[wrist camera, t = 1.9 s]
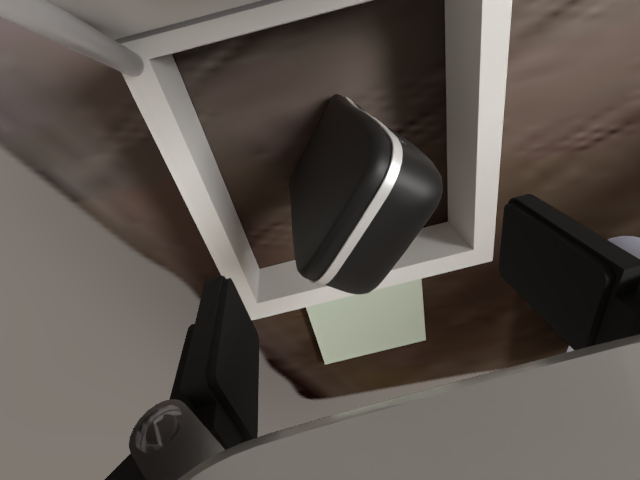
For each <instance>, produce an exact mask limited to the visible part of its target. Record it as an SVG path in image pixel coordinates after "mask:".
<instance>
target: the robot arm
mask: <svg viewBox="0 0 640 480" xmlns="http://www.w3.org/2000/svg"><path fill="white" fill-rule="evenodd" d="M499 271H500V274H501V276H502V277H503V278H504V279H505V280H506V281H507V282H508V283H509V284H510V285H511V286H512V287H513V288H514V289H515V290H516V292H517V293H518V294H519V295H520V296H521V297H522V298H523V299H524V300H525V301H526V302H527V303H528V304H529V305H530V306H531V307H532V308H533V309H534V310H535V311H536V312H537V313H538V314H539V315H540V316H541V317H542V318H543V319H544V320H545V321H546V322H547V323H548V324H549V325H550V326H551V327H552V328H553V329H554V330H555V331H556V332H557V333H558V334H559V335H560V336H561V337H562V339H563V340H564V341H565V342H566V343H567V344H568V345H569V346H570V347H571V348H572V349H573V350H574V351H571V352H567V353H563V354H559V355H555V356H551V357H548V358H544V359H540V360H536V361H532V362H529V363H525V364H521V365H517V366H513V367H509V368H506V369H502V370H498V371H494V372H491V373H487V374H483V375H479V376H476V377H472V378H468V379H464V380H461V381H457V382H453V383H450V384H446V385H442V386H438V387H435V388H431V389H427V390H424V391H420V392H416V393H412V394H408V395H405V396H401V397H397V398H394V399H390V400H387V401H383V402H379V403H376V404H372V405H368V406H365V407H361V408H357V409H354V410H350V411H346V412H343V413H339V414H336V415H332V416H328V417H325V418H321V419H317V420H314V421H310V422H307V423H304V424H300V425H297V426H294V427H290V428H287V429H283V430H280V431H276V432H273V433H270V434H266V435H264V436H261V437H258V438H257V432H258V377H259V376H258V375H259V338H258V334H257V331H256V329H255V327H254V325H253V323H252V321H251V318H250V316H249V314H248V312H247V310H246V308H245V306H244V304H243V302H242V299H241V297H240V295H239V293H238V291H237V289H236V287H235V285H234V283H233V281H232V279H231V278H228V279H226V278H225V277H224V276H219V277H215V278H212V279H208V280H206V281H205V284H204V288H203V293H202V297H201V301H200V305H199V309H198V313H197V318H196V322H195V324H192V325H191V326H190V327H189V328H188V331H187V335H186V339H185V342H184V346H183V350H182V354H181V358H180V362H179V366H178V370H177V373H176V378H175V381H174V385H173V389H172V393H171V396H170V400H166V401H163V402H161V403H159V404H156V405H155V406H154V407H152V408H151V409H149V410H148V411H147V412H146V413H145V414H144V415H143V416H142V417H141V418H140V419H139V421H138V422H137V424H136V425H135V427H134V428H133V431H132V433H131V436H130V441H129V448H130V452H131V454H130V455H129V456H128V457H127V458H126V459H125V460H124V461H123V462H122V463H121V464H120V465H119V466H118V467H117V468H116V469H115V470H114V471H113V472H112V473H111V474H110V475H109V476H108V477H107V478H106V479H105V480H640V259H638V258H637V257H635V256H633V255H632V254H630V253H628V252H627V251H625V250H623V249H622V248H620V247H618V246H617V245H615V244H613V243H612V242H610V241H608V240H607V239H605V238H603V237H602V236H600V235H598V234H597V233H595V232H594V231H592V230H590V229H589V228H587V227H585V226H584V225H582V224H580V223H579V222H577V221H575V220H574V219H572V218H570V217H569V216H567V215H565V214H564V213H562V212H560V211H559V210H557V209H555V208H554V207H552V206H550V205H549V204H547V203H545V202H544V201H542V200H540V199H539V198H537V197H535V196H534V195H531V194H526V195H523V196H519V197H515V198H512V199H510V200H509V202H508V204H507V205H505V207H504V215H503V227H502V238H501V249H500V260H499Z"/></svg>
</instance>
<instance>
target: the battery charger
mask: <svg viewBox="0 0 640 480" xmlns="http://www.w3.org/2000/svg"><path fill="white" fill-rule="evenodd" d="M289 186H290V194H291V213H292V232H293V244H294V253H295V261H296V267H297V271H298V272H299V273H300V274H301V275H302V277H304V278H306V279H308V280H309V281H310V282H311V283H314V284H317V285H320V286H323V285H326V286H329V287H332V288H335V289H338V290H341V291H344V292H347V293H351V294H356V295H359V294H367V293H369V292H371V291H372V290H374V289H375V288H376V287H378V286H379V284H380V283H381V282H382V281H383V280H384V279H385V277H386V276H387V275H388V273H389V272H390V271H391V270H392V268H393V267H394V266H395V264H396V263H397V262H398V261H399V259H400V258H401V257H402V255H403V254H404V253H405V251H406V250H407V249H408V247H409V246H410V245H411V243H412V242H413V241H414V239H415V238H416V236H417V235H418V234H419V232H420V231H421V230H422V228H423V227H424V225H425V224H426V223H427V221H428V220H429V218H430V217H431V216H432V214H433V213H434V211H435V209H436V208H437V206H438V204H439V202H440V199H441V196H442V191H443V184H442V177H441V175H440V173H439V172H438V170H437V168H436V167H435V165H434V164H433V162H432V161H431V160H430V159H429V158H428V157H427V156H426V155H425V154H424V153H423V152H422V151H420V150H419V149H418V148H417V147H416V146H415V145H413V144H412V143H411V142H409V141H408V140H407V139H405V138H404V137H403V136H401V135H400V134H398V133H397V132H395V131H393V130H391V129H389V128H388V127H386V126H385V125H384V124H383V123H381V122H380V121H379V120H377V119H376V118H374V117H373V116H371V115H370V114H368V113H366V112H365V111H364V110H363V109H362V108H361V107H360V106H358V105H356V104H355V103H353V102H352V101H351V99H349V98H347V97H346V96H344V97H342V96H341V95H338V94H336V95H334V96H332V98H331V100H330V102H329V104H328V106H327V108H326V110H325V112H324V114H323V115H322V117H321V119H320V121H319V123H318V125H317V127H316V129H315V131H314V133H313V135H312V137H311V139H310V141H309V143H308V145H307V147H306V149H305V151H304V153H303V155H302V157H301V159H300V161H299V163H298V165H297V167H296V169H295V171H294V174H293V176H292V178H291V180H290V182H289Z"/></svg>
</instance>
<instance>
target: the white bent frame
mask: <svg viewBox="0 0 640 480" xmlns="http://www.w3.org/2000/svg"><path fill="white" fill-rule="evenodd" d="M370 1H374V0H0V17H1V18H3V19H5V20H7V21H10V22H12V23H14V24H16V25H19V26H21V27H23V28H25V29H27V30H30V31H32V32H34V33H36V34H38V35H41V36H43V37H45V38H47V39H49V40H52V41H54V42H56V43H58V44H60V45H63V46H65V47H67V48H69V49H71V50H74V51H76V52H78V53H80V54H82V55H85V56H87V57H89V58H91V59H93V60H96V61H98V62H100V63H102V64H104V65H107V66H109V67H111V68H113V69H115V70H118V71H120V72H121V73H122V75H123V77H124V79H125V81H126V83H127V85H128V87H129V89H130V91H131V93H132V96H133V98H134V100H135V102H136V104H137V106H138V108H139V110H140V112H141V114H142V116H143V118H144V120H145V122H146V124H147V126H148V128H149V130H150V132H151V134H152V136H153V138H154V140H155V142H156V144H157V146H158V148H159V150H160V152H161V154H162V156H163V158H164V160H165V162H166V164H167V167H168V169H169V171H170V173H171V175H172V177H173V179H174V181H175V183H176V185H177V187H178V189H179V191H180V193H181V195H182V197H183V199H184V201H185V203H186V205H187V207H188V209H189V211H190V213H191V215H192V217H193V219H194V221H195V223H196V225H197V227H198V229H199V231H200V233H201V235H202V238H203V240H204V242H205V244H206V246H207V248H208V250H209V252H210V254H211V256H212V258H213V260H214V262H215V264H216V266H217V268H218V270H219V272H220V274H221V276H224V277H225V278H226V279H228V278H231V279H232V281H233V283H234V285H235V287H236V289H237V291H238V293H239V295H240V297H241V299H242V302H243V304H244V306H245V308H246V310H247V312H248V314H249V316H250V318H251V321H252V320H256V319H260V318H264V317H268V316H272V315H276V314H280V313H284V312H288V311H292V310H296V309H300V308H304V307H308V306H313V305H317V304H321V303H325V302H329V301H333V300H337V299H341V298H345V297H349V296H353V295H356V294H351V293H347V292H344V291H341V290H338V289H335V288H332V287H329V286H326V285H323V286H320V285H317V284H314V283H311V282H310V281H309V280H308V279H306V278H304V277H302V275H301V274H300V273H299V272H298V271H297V267H296V261H295V260H293V261H289V262H285V263H281V264H277V265H273V266H269V267H265V268H261V269H259V267H258V264H257V262H256V259H255V257H254V254H253V252H252V249H251V247H250V245H249V242H248V240H247V237H246V235H245V232H244V230H243V227H242V225H241V222H240V220H239V218H238V215H237V213H236V210H235V208H234V205H233V203H232V200H231V198H230V195H229V193H228V191H227V188H226V186H225V183H224V181H223V178H222V176H221V173H220V171H219V168H218V166H217V164H216V161H215V159H214V156H213V154H212V151H211V149H210V146H209V144H208V141H207V139H206V137H205V134H204V132H203V129H202V127H201V124H200V122H199V119H198V117H197V114H196V112H195V109H194V107H193V105H192V102H191V100H190V97H189V95H188V92H187V90H186V87H185V85H184V82H183V80H182V78H181V75H180V73H179V70H178V68H177V65H176V63H175V60H174V58H173V55H172V54H175V53H178V52H182V51H186V50H190V49H193V48H197V47H201V46H205V45H208V44H212V43H216V42H220V41H224V40H227V39H231V38H235V37H239V36H242V35H246V34H250V33H254V32H257V31H261V30H265V29H269V28H272V27H276V26H280V25H284V24H287V23H291V22H295V21H299V20H302V19H306V18H310V17H314V16H317V15H321V14H325V13H329V12H333V11H336V10H340V9H344V8H348V7H351V6H355V5H359V4H363V3H366V2H370ZM511 10H512V0H445V57H446V124H447V190H448V222H444V223H440V224H436V225H432V226H428V227H424V228H422V230H421V231H420V232H419V234H418V235H417V236H416V238H415V239H414V241H413V242H412V243H411V245H410V246H409V247H408V249H407V250H406V251H405V253H404V254H403V255H402V257H401V258H400V259H399V261H398V262H397V263H396V264H395V266H394V267H393V268H392V270H391V271H390V272H389V273H388V275H387V276H386V277H385V279H384V280H383V281H382V282H381V283H380V284H379V286H378V287H376V288H375V289H374V290H377V289H381V288H385V287H389V286H393V285H397V284H401V283H406V282H410V281H414V280H418V279H422V278H426V277H430V276H434V275H438V274H442V273H446V272H450V271H454V270H458V269H462V268H466V267H470V266H474V265H478V264H482V263H486V262H490V261H493V250H494V237H495V224H496V210H497V197H498V184H499V170H500V157H501V144H502V130H503V117H504V104H505V90H506V77H507V63H508V50H509V37H510V23H511ZM372 291H373V290H372Z"/></svg>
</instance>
